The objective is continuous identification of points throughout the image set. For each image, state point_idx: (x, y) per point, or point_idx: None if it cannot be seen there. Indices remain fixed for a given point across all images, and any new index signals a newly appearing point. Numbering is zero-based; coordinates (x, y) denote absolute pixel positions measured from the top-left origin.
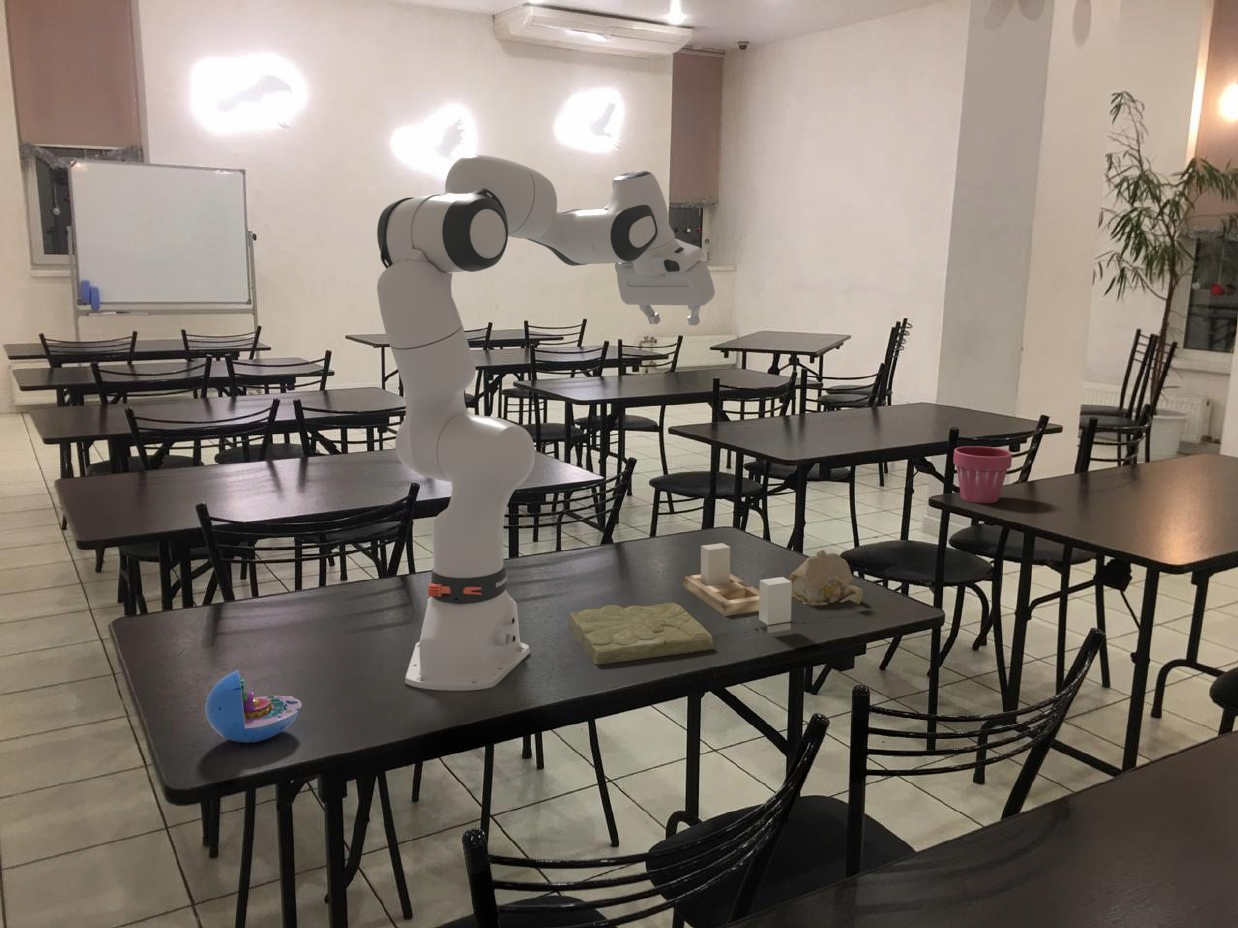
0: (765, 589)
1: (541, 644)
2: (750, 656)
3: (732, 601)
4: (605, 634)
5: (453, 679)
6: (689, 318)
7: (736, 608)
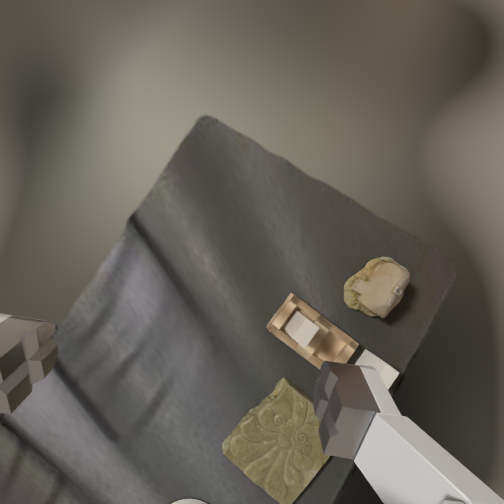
0: None
1: (225, 490)
2: None
3: None
4: (278, 483)
5: None
6: (343, 452)
7: None
